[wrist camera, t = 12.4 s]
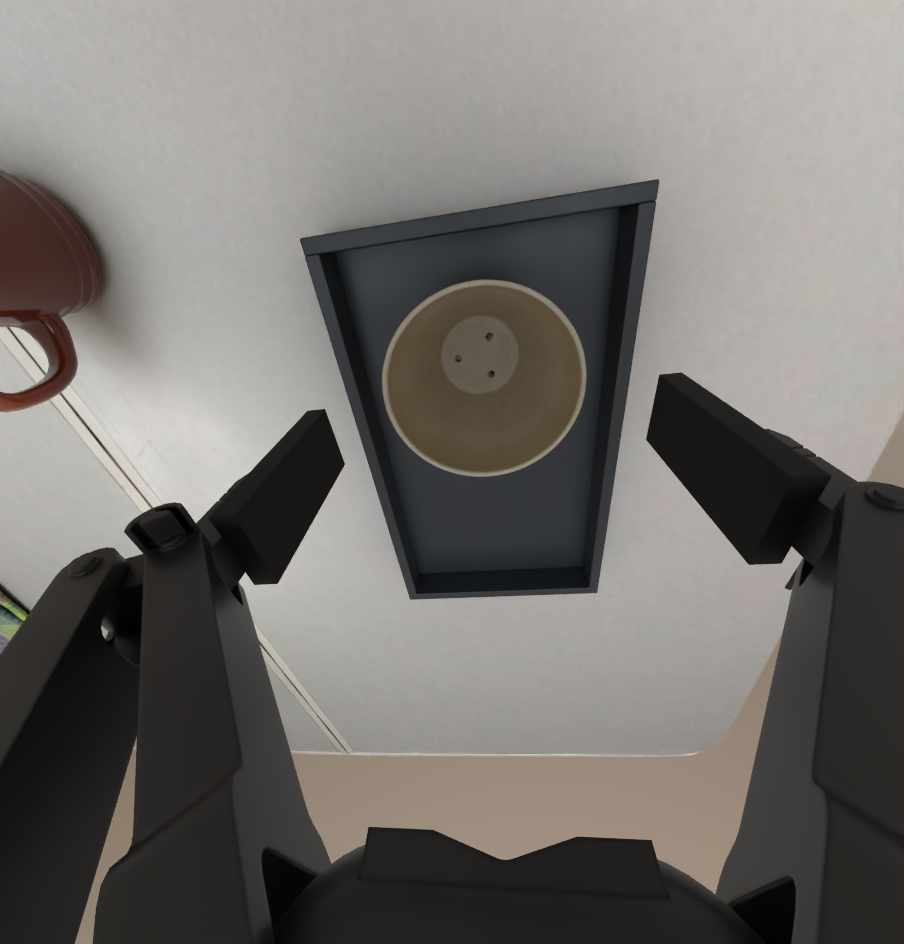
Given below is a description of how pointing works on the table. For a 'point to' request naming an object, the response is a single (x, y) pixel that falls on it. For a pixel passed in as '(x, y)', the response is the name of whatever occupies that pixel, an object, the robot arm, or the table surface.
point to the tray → (562, 282)
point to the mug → (43, 280)
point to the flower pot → (484, 378)
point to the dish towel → (9, 620)
